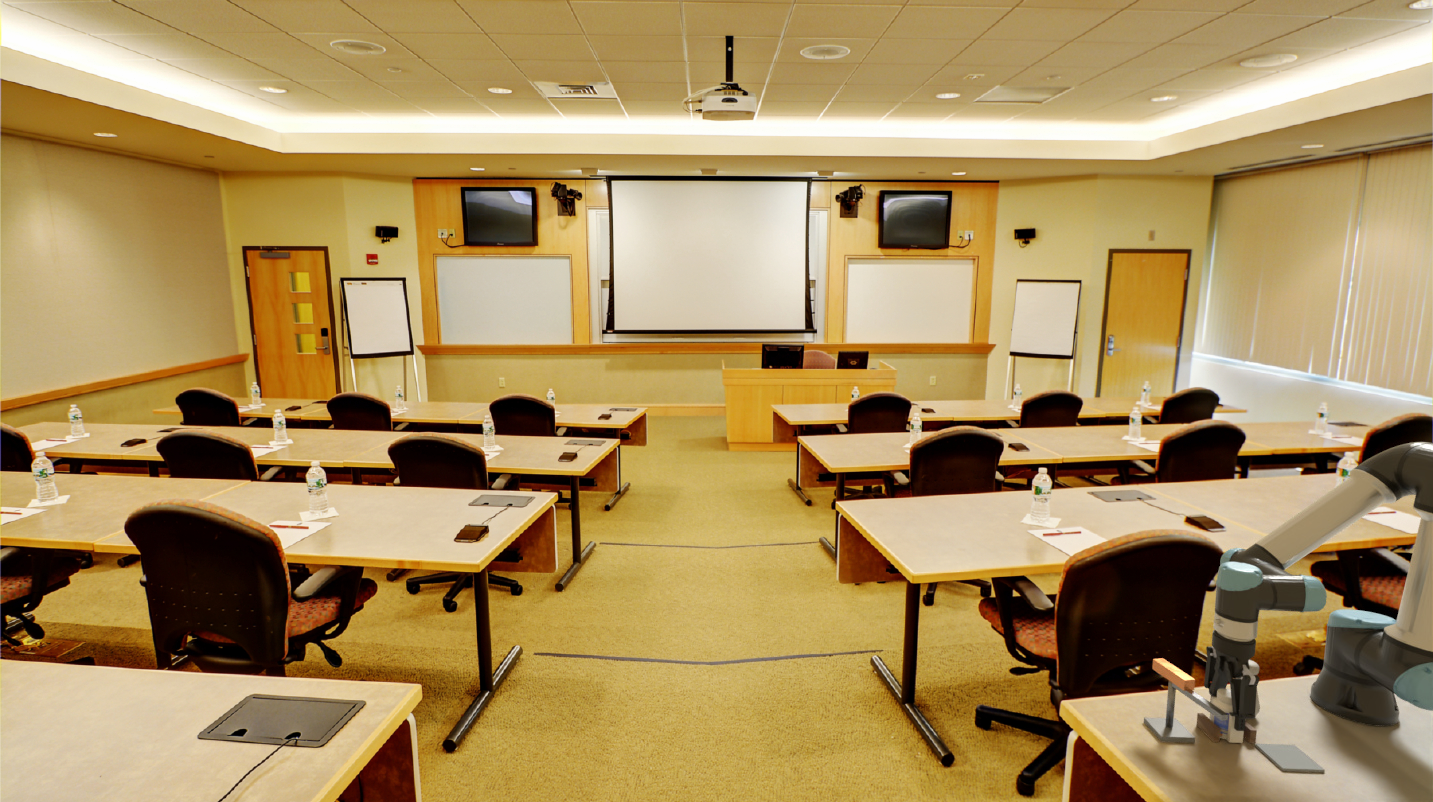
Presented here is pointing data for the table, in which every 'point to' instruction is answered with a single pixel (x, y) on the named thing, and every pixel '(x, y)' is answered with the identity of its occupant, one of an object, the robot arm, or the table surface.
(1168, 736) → the grey stand base plate
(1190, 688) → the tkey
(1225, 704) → the pill bottle
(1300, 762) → the pad
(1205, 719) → the cradle
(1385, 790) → the table surface
